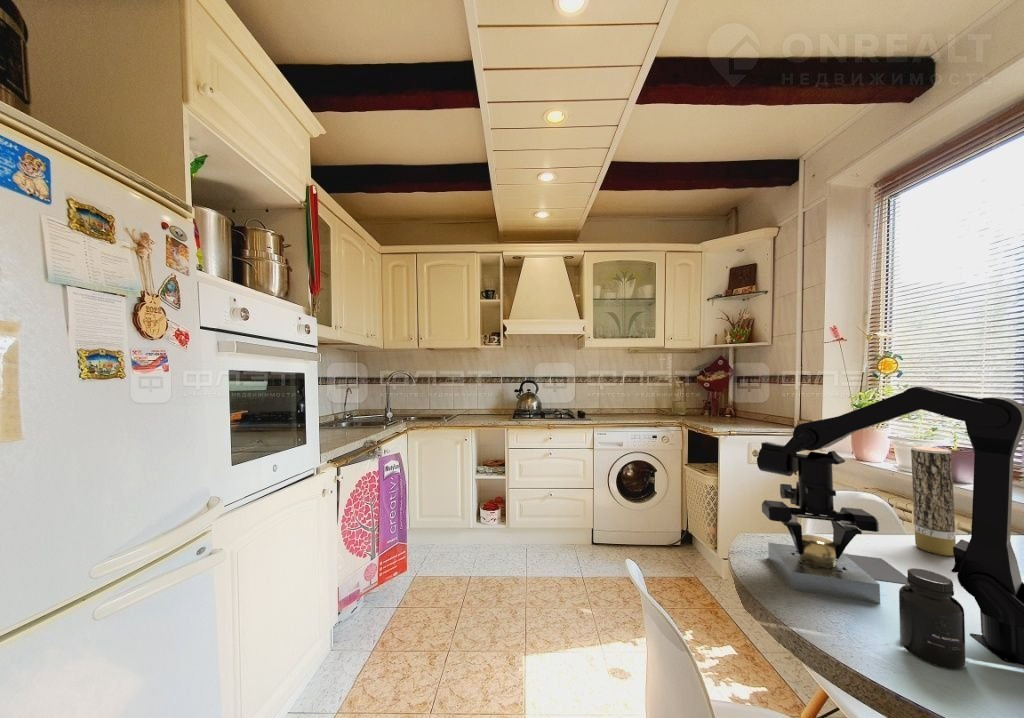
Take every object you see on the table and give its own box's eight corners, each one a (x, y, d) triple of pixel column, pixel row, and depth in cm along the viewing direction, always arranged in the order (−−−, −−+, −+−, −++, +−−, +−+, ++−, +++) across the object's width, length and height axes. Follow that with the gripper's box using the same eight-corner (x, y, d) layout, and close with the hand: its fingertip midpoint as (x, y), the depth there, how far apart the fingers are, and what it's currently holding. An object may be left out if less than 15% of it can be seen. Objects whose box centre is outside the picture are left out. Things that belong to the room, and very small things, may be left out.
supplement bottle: (948, 676, 54) (944, 590, 55) (889, 643, 61) (886, 567, 61) (978, 666, 56) (974, 583, 56) (918, 636, 62) (915, 562, 63)
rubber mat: (918, 588, 77) (917, 585, 77) (857, 579, 80) (857, 576, 80) (881, 560, 88) (881, 558, 88) (829, 554, 91) (829, 551, 91)
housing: (880, 606, 71) (879, 584, 71) (792, 592, 75) (791, 571, 75) (841, 569, 84) (841, 551, 84) (768, 559, 88) (768, 542, 88)
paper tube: (941, 546, 96) (936, 447, 97) (965, 558, 89) (959, 452, 90) (908, 543, 98) (903, 445, 99) (928, 555, 91) (924, 450, 92)
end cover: (843, 588, 76) (841, 549, 76) (807, 582, 78) (806, 544, 78) (828, 573, 81) (827, 537, 82) (795, 568, 83) (794, 533, 84)
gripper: (848, 475, 85) (851, 546, 84) (753, 469, 91) (755, 535, 90) (878, 489, 75) (882, 570, 74) (769, 481, 80) (771, 556, 80)
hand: (817, 556), depth 80 cm, fingers closed on end cover, 6 cm apart
